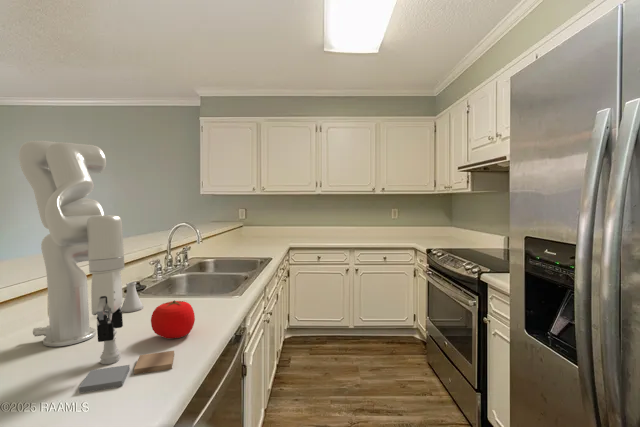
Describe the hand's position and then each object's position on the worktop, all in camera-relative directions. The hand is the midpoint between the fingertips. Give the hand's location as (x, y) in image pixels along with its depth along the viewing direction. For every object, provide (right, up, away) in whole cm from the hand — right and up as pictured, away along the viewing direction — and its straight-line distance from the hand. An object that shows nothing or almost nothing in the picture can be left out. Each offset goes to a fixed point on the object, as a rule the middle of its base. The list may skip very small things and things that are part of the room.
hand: (111, 334), depth 89 cm
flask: (-18, -6, +44) cm, 47 cm away
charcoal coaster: (+4, -7, -9) cm, 12 cm away
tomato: (+9, -7, +17) cm, 20 cm away
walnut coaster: (+12, -7, -2) cm, 14 cm away
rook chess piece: (-1, -7, +1) cm, 7 cm away
